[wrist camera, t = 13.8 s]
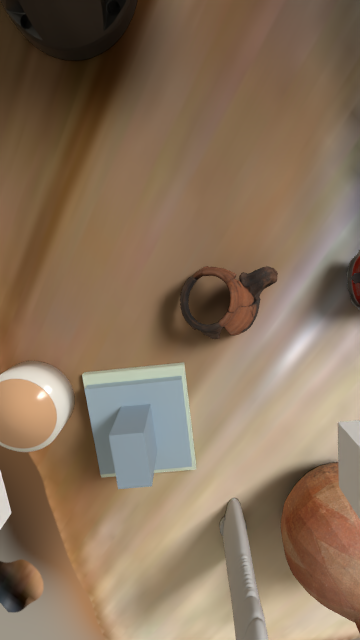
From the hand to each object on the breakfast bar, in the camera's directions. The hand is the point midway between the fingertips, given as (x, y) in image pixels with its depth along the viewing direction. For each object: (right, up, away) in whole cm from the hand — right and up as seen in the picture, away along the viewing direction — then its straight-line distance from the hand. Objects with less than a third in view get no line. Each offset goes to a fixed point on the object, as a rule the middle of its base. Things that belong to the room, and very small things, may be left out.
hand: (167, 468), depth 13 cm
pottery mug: (+7, +9, +31) cm, 33 cm away
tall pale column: (+9, -26, +38) cm, 47 cm away
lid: (-5, -9, +33) cm, 35 cm away
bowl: (-20, -5, +34) cm, 40 cm away
